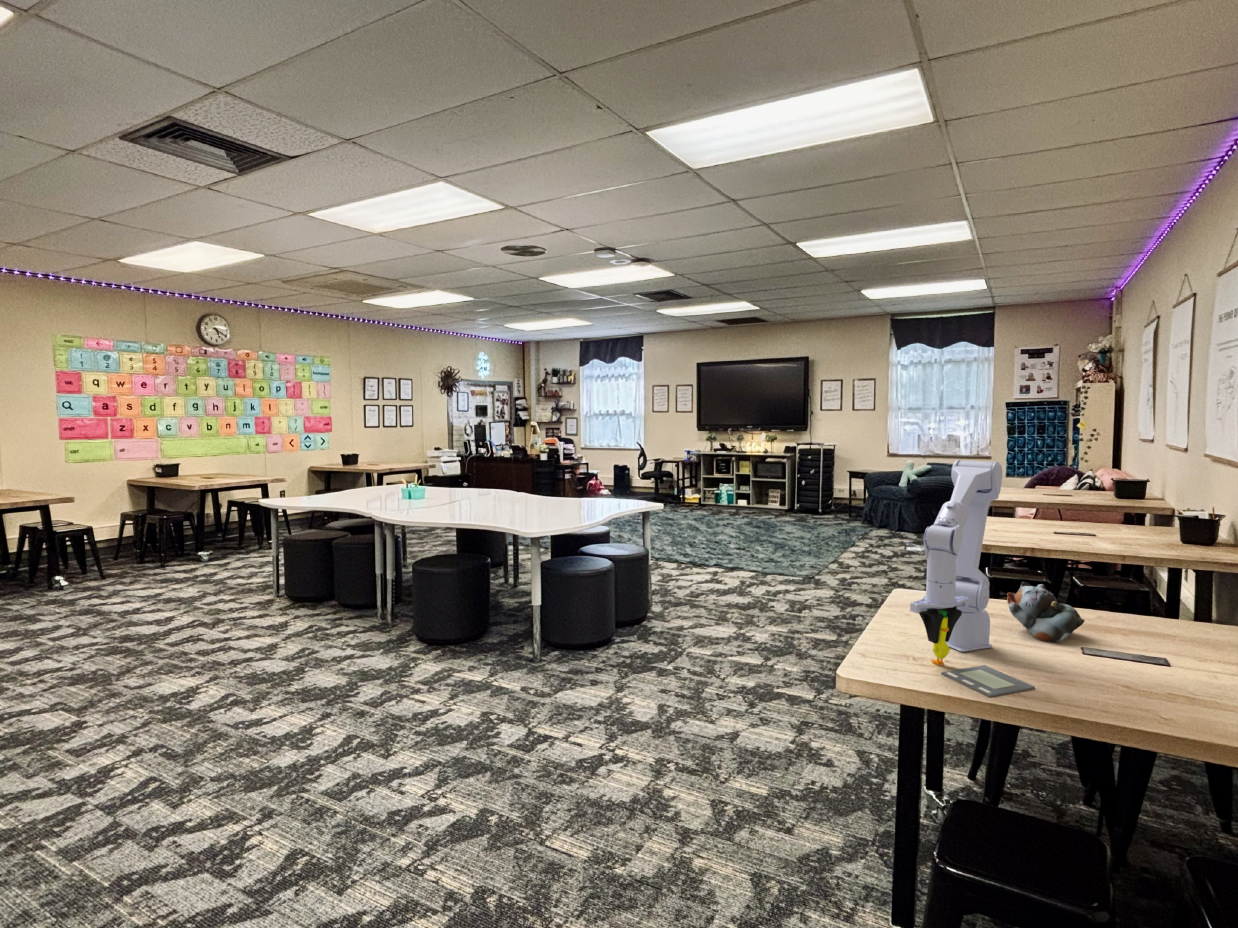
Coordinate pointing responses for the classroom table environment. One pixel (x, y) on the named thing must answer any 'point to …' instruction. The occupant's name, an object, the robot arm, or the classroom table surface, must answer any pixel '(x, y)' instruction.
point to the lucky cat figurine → (1043, 613)
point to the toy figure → (941, 641)
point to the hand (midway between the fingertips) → (938, 641)
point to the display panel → (987, 680)
